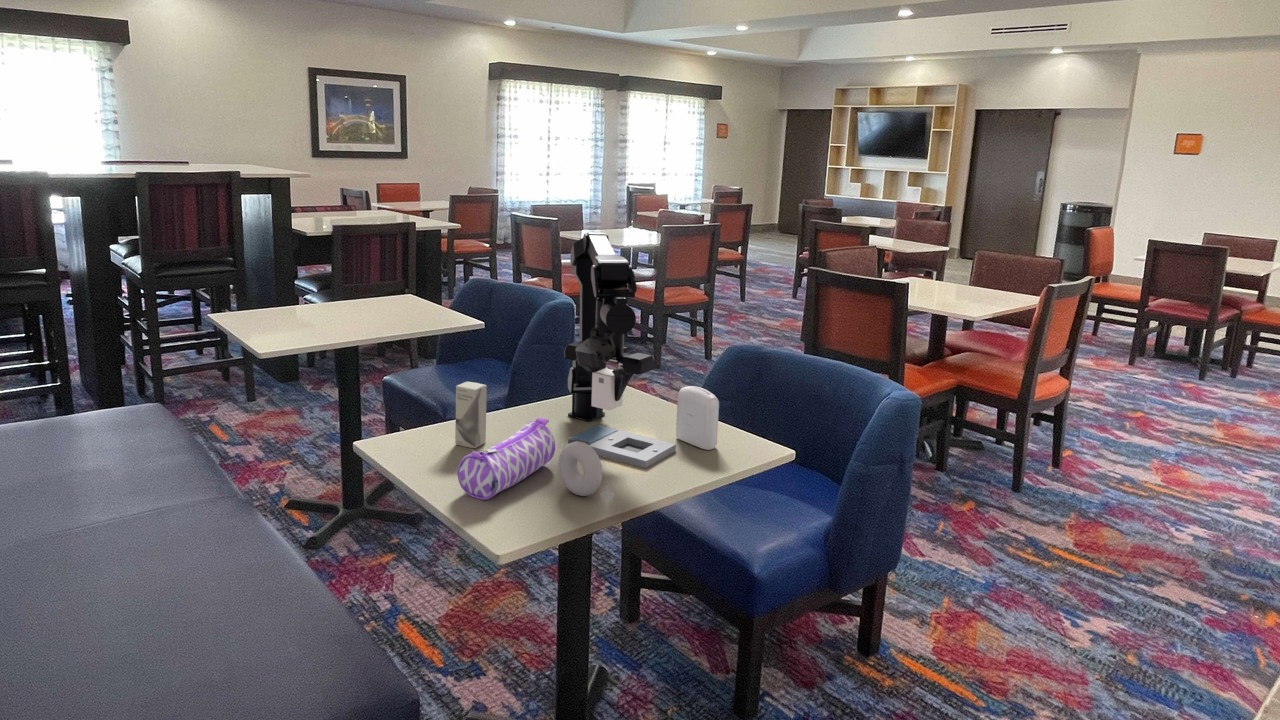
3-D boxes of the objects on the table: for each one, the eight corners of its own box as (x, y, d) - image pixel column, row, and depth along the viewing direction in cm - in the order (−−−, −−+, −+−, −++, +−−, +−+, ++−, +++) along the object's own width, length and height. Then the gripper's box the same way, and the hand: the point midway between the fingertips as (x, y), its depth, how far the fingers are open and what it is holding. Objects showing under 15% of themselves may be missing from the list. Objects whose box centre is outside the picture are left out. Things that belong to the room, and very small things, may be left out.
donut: (605, 500, 148) (607, 447, 145) (591, 505, 146) (593, 452, 143) (568, 483, 155) (569, 433, 152) (554, 488, 152) (555, 437, 150)
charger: (591, 406, 167) (592, 372, 165) (604, 400, 171) (605, 368, 169) (609, 410, 165) (610, 376, 163) (622, 405, 168) (623, 372, 166)
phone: (568, 441, 176) (568, 437, 176) (597, 428, 185) (597, 424, 185) (591, 447, 173) (591, 443, 173) (619, 433, 182) (620, 430, 182)
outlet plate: (588, 452, 170) (588, 444, 170) (619, 436, 180) (620, 429, 180) (645, 468, 163) (646, 460, 163) (675, 451, 173) (676, 443, 173)
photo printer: (672, 438, 181) (675, 383, 178) (687, 434, 184) (690, 380, 181) (704, 452, 173) (708, 395, 170) (719, 448, 176) (723, 392, 173)
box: (454, 445, 171) (453, 385, 168) (466, 438, 175) (465, 380, 172) (476, 449, 170) (475, 389, 166) (487, 442, 174) (487, 384, 170)
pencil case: (495, 508, 143) (494, 457, 141) (451, 497, 147) (450, 447, 145) (559, 466, 163) (559, 421, 161) (519, 457, 167) (519, 413, 164)
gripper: (547, 322, 162) (546, 398, 166) (625, 337, 152) (622, 417, 156) (582, 313, 171) (580, 386, 175) (658, 327, 161) (654, 404, 165)
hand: (607, 398), depth 167 cm, fingers closed on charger, 4 cm apart
